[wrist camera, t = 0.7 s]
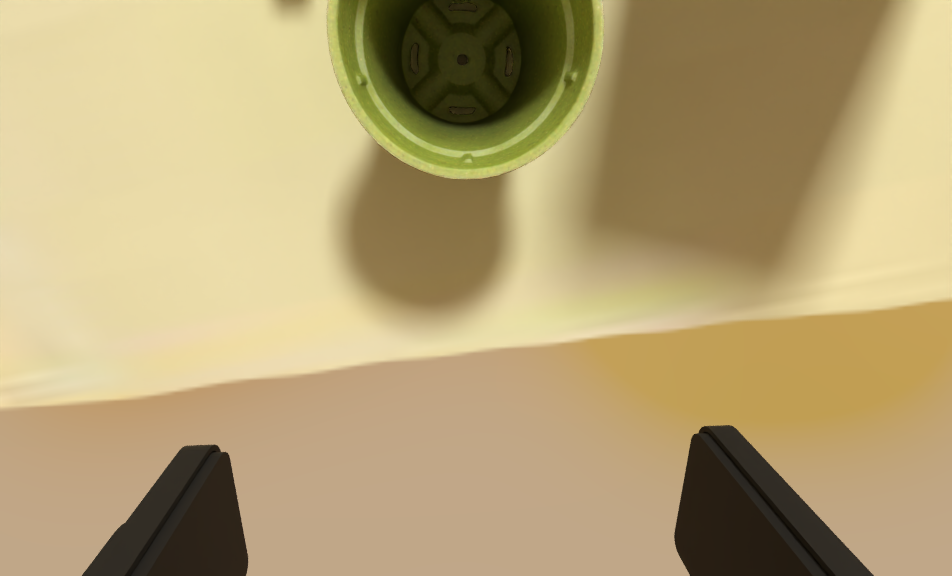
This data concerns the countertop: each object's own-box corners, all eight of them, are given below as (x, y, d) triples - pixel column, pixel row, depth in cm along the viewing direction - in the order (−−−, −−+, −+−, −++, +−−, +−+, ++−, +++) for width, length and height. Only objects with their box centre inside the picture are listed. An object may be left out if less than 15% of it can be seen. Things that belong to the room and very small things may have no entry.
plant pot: (372, 159, 27) (340, 181, 18) (356, -51, 23) (310, -135, 15) (549, 156, 27) (594, 177, 19) (557, -49, 24) (615, -130, 16)
